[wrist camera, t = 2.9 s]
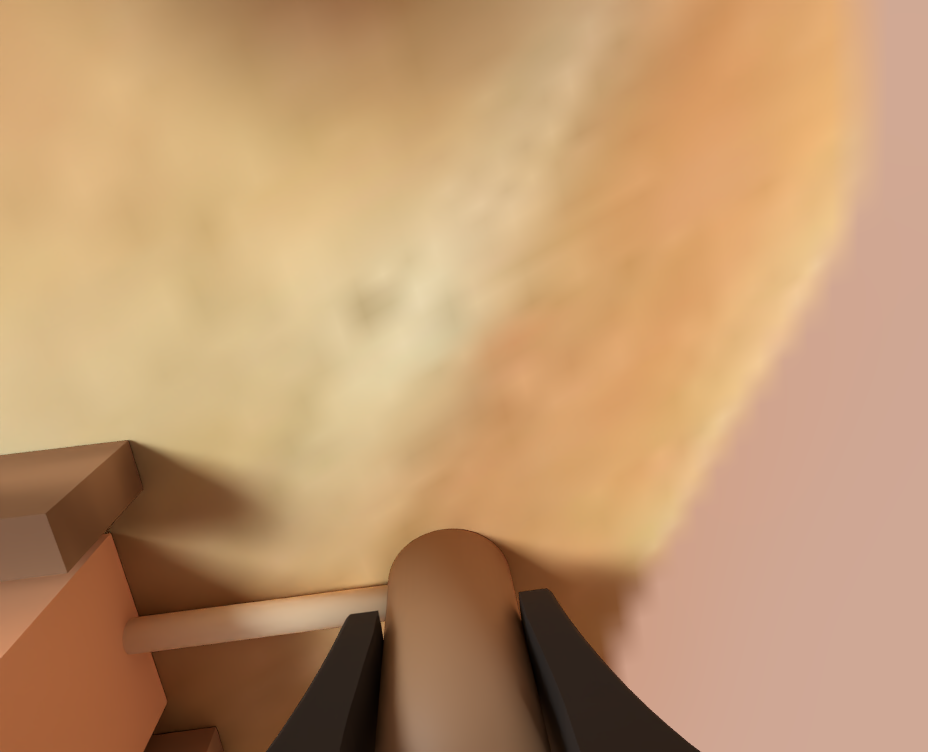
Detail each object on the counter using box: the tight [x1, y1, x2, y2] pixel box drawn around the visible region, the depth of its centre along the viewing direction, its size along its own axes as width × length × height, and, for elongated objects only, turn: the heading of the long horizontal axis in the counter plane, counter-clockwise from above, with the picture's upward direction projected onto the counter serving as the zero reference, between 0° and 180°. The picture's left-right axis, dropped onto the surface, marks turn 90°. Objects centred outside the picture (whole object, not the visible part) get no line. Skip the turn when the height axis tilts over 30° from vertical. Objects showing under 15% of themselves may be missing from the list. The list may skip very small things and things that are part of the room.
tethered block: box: [0, 529, 551, 752], centre depth 12 cm, size 5×14×6 cm, turn 96°
